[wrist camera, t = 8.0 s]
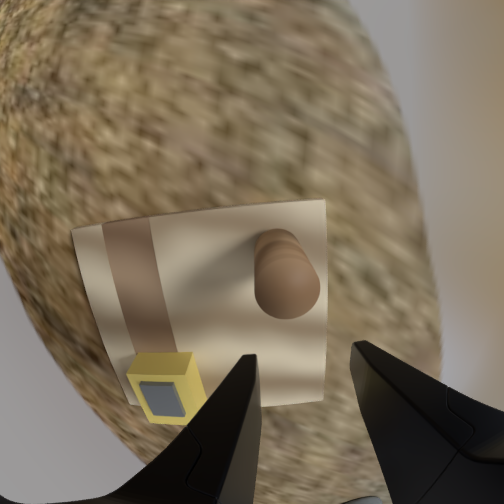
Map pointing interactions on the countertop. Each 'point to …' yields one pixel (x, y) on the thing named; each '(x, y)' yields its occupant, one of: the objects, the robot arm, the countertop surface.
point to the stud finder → (167, 386)
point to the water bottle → (366, 501)
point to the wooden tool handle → (283, 276)
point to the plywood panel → (206, 294)
